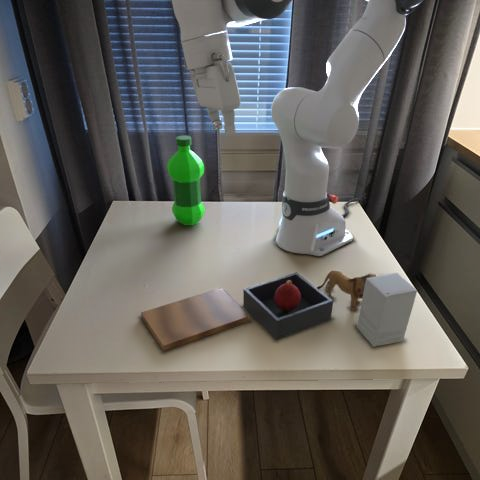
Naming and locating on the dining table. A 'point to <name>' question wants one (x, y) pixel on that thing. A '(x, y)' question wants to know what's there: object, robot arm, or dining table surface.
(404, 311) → the white packaging box
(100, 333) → the dining table surface
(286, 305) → the red pomegranate
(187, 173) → the plastic bottle
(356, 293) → the lion figurine
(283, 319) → the tub
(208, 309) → the cutting board
